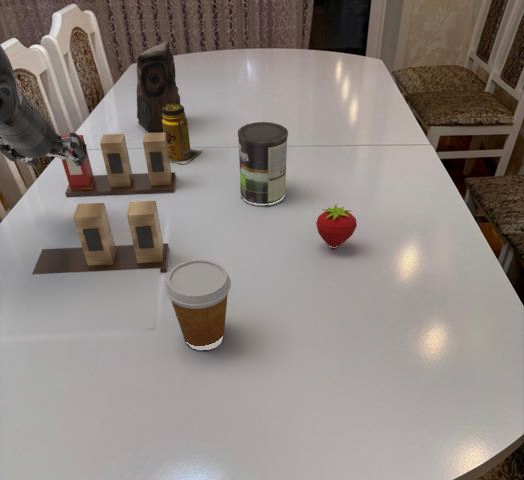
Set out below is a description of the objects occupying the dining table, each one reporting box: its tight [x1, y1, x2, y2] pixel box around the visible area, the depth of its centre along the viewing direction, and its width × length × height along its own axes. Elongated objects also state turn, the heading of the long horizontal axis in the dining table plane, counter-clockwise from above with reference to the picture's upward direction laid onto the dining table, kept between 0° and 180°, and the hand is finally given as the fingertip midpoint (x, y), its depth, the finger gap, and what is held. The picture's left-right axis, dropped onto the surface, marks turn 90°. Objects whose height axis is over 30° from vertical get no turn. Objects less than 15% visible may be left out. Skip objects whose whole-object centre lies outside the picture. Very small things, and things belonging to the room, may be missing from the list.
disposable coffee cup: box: [164, 259, 232, 346], centre depth 75 cm, size 10×10×12 cm
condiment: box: [162, 103, 203, 165], centre depth 121 cm, size 7×8×12 cm
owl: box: [136, 40, 182, 133], centre depth 131 cm, size 13×13×20 cm
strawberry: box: [315, 203, 358, 247], centre depth 93 cm, size 6×8×10 cm
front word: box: [31, 200, 170, 275], centre depth 90 cm, size 24×8×11 cm, turn 94°
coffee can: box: [237, 121, 289, 207], centre depth 106 cm, size 10×10×14 cm
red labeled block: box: [59, 134, 94, 189], centre depth 110 cm, size 5×5×10 cm
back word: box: [65, 132, 177, 198], centre depth 111 cm, size 24×8×11 cm, turn 94°
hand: (57, 162), depth 98 cm, fingers open, 8 cm apart
